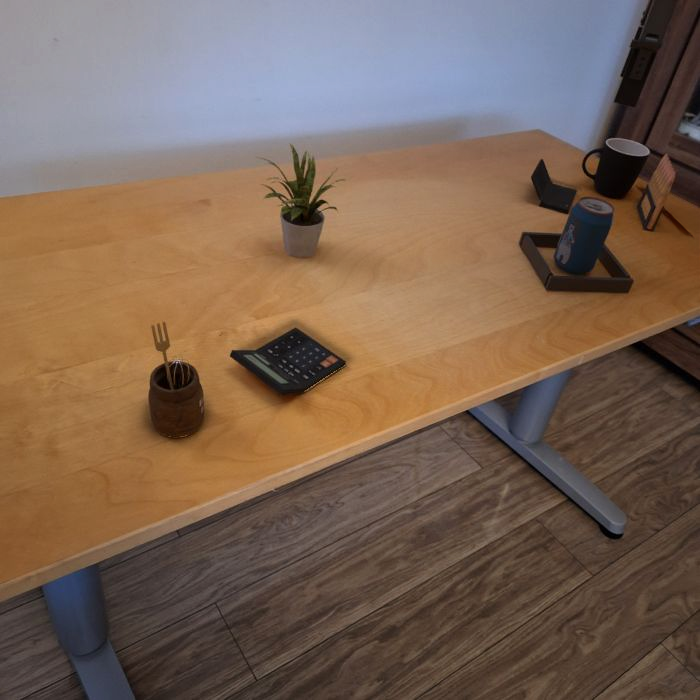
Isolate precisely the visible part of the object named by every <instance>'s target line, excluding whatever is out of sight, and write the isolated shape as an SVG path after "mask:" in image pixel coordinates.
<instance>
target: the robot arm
mask: <svg viewBox="0 0 700 700" xmlns="http://www.w3.org/2000/svg"><path fill="white" fill-rule="evenodd" d="M678 1H679V0H648V2H647V4H646V7H645V10H644V11H643V12H642V18H641V19H640V22H639V23H640V26H638V27H637V30H636V33H635V35H634V38H632V39H631V42H630V44H629V48H630V49H629V52H628V54H627V57H626V59H625V62H624V64H623V68H622V70H621V72H620V74H619V76H620V78H622V79H621V81H620V84H619V86H618V89H617V92H616V94H615V97H614V99H613V103H615V104H619V105H623V106H628V107H632V108H636V107H637V104H638V101H639V100H640V97H641V94H642V93H643V92H642V91H643V89H644V88H645V85H646V82H647V79H648V77H649V74H650V72H651V69H652V67H653V64H654V62H655V59H656V57H657V55H658V51H660V49H661V48H662V47H663V45H664V38H665V36H666V33H667V30H668V28H669V25H670V22H671V19H672V17H673V14H674V11H675V10H676V9H675V8H676V7H677V4H678Z"/></svg>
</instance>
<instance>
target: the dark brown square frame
mask: <svg viewBox="0 0 700 700" xmlns="http://www.w3.org/2000/svg"><path fill="white" fill-rule="evenodd" d="M561 235H562V233H559V232H540V231H539V232H535V231H522V233H521V235H520V238H519V240H518V245H519V246H520V249H521V250H522V252H523V253H524V255H525V257H526V259H527V261H528V262H529V264H530V266H531V267H532V269H533V271H534V272H535V274H536V275H537V277H538V280H539V281H540V282H541V284H542V285H543V287H544V288H545V290H546V291H549V292H550V291H551V292H553V291H555V292H587V293H589V292H590V293H618V294H619V293H622V294H629V292H630V291H631V289H632V286H633V284H634V282H635V280H634V279H633V277H632V276H631V275H630V273H629V272H628V271H627V269H626V268H625V267H624V265H622V263H621V262H620V261H619V260H618V258H617V257H616V256H615V254H614V253H613V252H612V251H611V250H610V248H609V247H608V245H606V244H605V243H606V242H605V243H604V245H603V247H602V250H601V252H600V254H599V257H598V259H597V260H599V261H600V263H601V264H602V266H603V267H604V268H605V270H606V271H607V272H608V274H609V275H610V276H585V275H584V276H572V275H554V273H553V271H552V269H551V268H550V267H549V265H548V263H547V261H546V260H545V259H544V257H543V255H542V254H541V252H540V251H539V249H538V248H557V246H558V243H559V240H560V238H561Z"/></svg>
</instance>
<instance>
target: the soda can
mask: <svg viewBox="0 0 700 700" xmlns="http://www.w3.org/2000/svg"><path fill="white" fill-rule="evenodd" d="M614 213H615V207H614V205H612V204H611V202H609V201H607V200H605V199H602V198H599V197H595V196H582V197H580V198H579V199H578V201H577V202H576V203H575V204H574V205H573V206H571V208H570V211H569V213H568V214H569V215H568V216H567V219H566V221H565V224H564V227H563V230H562V231H561V232H562V233H561V234H562V235H561V238H560V240H559V243H558V246H557V247H555V250H554V253H553V260H554V265H555V268H557V270H559V271H560V272H561V273H563V274H566V275H567V276H585V275H587V274H589V273H590V272H591V271H593V270H594V268H595V266H596V264H597V261H598V260H599V259H598V257H599V254H600V252H601V250H602V247H603V245H604V243H606V241H607V238H608V235H609V234H610V231H611V229H612V227H613V224H614V221H615V215H614Z"/></svg>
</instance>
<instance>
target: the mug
mask: <svg viewBox="0 0 700 700" xmlns="http://www.w3.org/2000/svg"><path fill="white" fill-rule="evenodd" d="M650 153H651V151H650V149H649V148H648V147H646V146H645V145H644V144H641V143H639V142H637V141H635V140H630V139H626V138H621V137H615V138H614V137H611V138H608V139H606V141H605V143H604V145H603V146H602V147H598V148H594V149H592V150H590V151H589V152H587V154H586V155H585V156H584V158H583V159H582V161H581V168H582V171H583V173H584V175H585V176H586V177H587V178H589V179H591V180H592V181H593V186H594V187H593V188H594V190H595V191H596V193H598V194H599V195H602V196H603V197H606V198H611V199H621V198H624V197H625V196H627V194H628V193H629V192H630V190H631V189H632V188H633V186H634V185H635V183H636V181H637V180H638V178H639V176H640V174H641V173H642V171H643V169H644V167H645V165H646V163H647V161H648V158H649V156H650V155H651V154H650ZM594 154H600V156H599V160H598V164H597V167H596V171H595V173H594V174H592V173H590V172H589V171H588V169H587V167H586V163H587V160H588V159H589V157H591V156H592V155H594Z"/></svg>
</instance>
